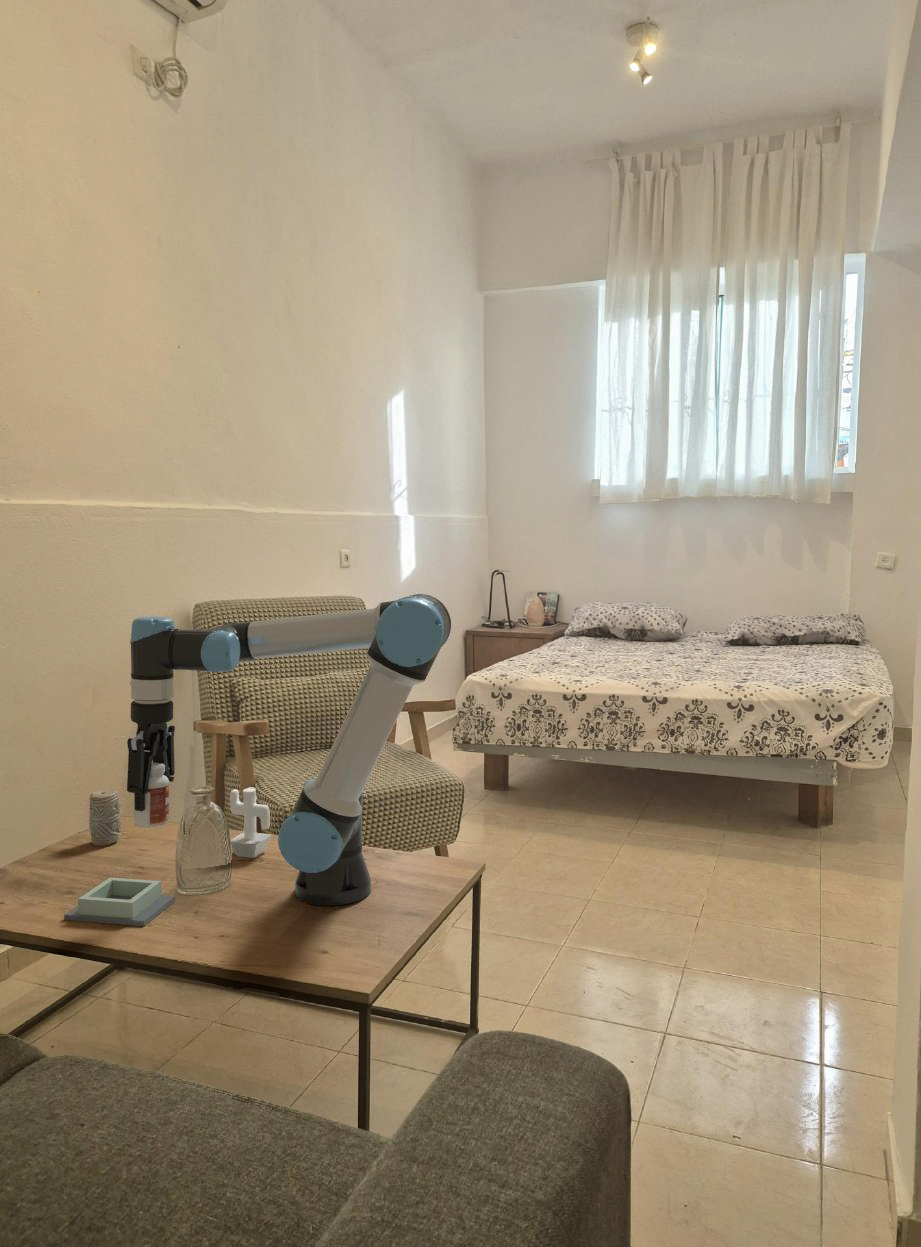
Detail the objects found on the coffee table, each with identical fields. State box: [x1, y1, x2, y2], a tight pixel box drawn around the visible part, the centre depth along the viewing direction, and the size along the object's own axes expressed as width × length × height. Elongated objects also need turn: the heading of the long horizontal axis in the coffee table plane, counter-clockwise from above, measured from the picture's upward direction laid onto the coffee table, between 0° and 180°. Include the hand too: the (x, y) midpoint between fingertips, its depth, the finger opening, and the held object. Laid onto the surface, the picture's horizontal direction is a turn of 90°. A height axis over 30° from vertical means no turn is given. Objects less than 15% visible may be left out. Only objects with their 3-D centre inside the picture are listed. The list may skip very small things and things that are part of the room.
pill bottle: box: [133, 762, 170, 828], centre depth 169 cm, size 6×6×11 cm
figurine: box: [229, 786, 273, 859], centre depth 202 cm, size 7×9×15 cm
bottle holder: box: [63, 877, 176, 927], centre depth 171 cm, size 16×12×4 cm
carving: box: [88, 790, 122, 847], centre depth 209 cm, size 6×8×12 cm
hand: (151, 820), depth 169 cm, fingers closed on pill bottle, 6 cm apart
